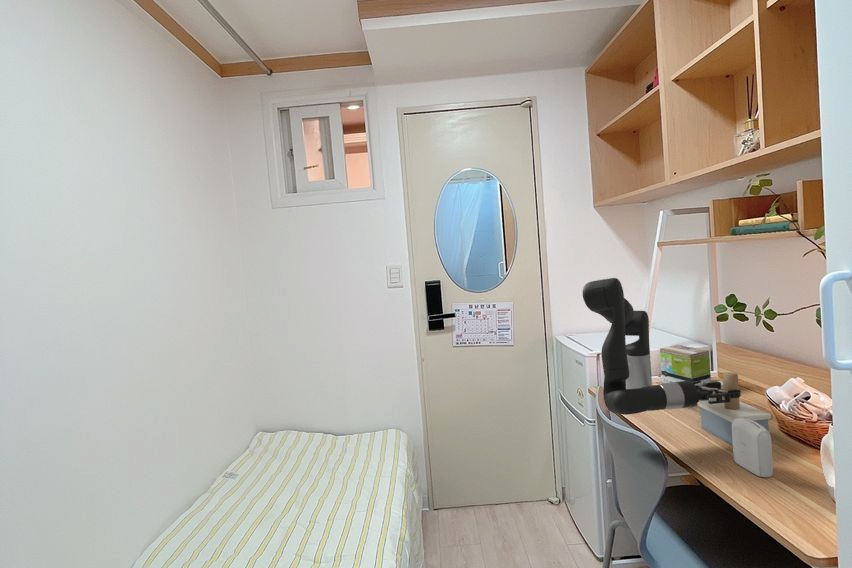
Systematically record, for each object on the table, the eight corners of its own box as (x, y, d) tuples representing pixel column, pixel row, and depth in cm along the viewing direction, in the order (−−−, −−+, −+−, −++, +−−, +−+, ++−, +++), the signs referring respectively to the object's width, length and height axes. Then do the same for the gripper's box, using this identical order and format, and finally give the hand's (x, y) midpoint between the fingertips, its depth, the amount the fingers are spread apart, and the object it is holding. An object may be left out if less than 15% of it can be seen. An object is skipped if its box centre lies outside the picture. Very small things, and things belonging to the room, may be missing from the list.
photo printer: (730, 461, 129) (728, 415, 128) (746, 459, 129) (744, 413, 129) (759, 479, 119) (756, 429, 118) (776, 477, 119) (774, 427, 118)
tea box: (661, 383, 201) (658, 347, 200) (679, 379, 204) (677, 343, 203) (693, 392, 186) (690, 353, 186) (712, 387, 190) (710, 349, 189)
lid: (697, 405, 152) (695, 369, 152) (731, 401, 153) (729, 366, 152) (732, 423, 136) (730, 383, 136) (770, 418, 137) (768, 378, 136)
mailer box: (701, 428, 152) (700, 405, 152) (732, 424, 153) (731, 402, 152) (734, 446, 137) (733, 422, 137) (769, 442, 138) (767, 418, 137)
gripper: (689, 389, 136) (746, 382, 137) (661, 376, 150) (713, 370, 151) (691, 415, 137) (747, 409, 137) (663, 400, 151) (714, 394, 152)
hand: (729, 389), depth 144 cm, fingers open, 8 cm apart
